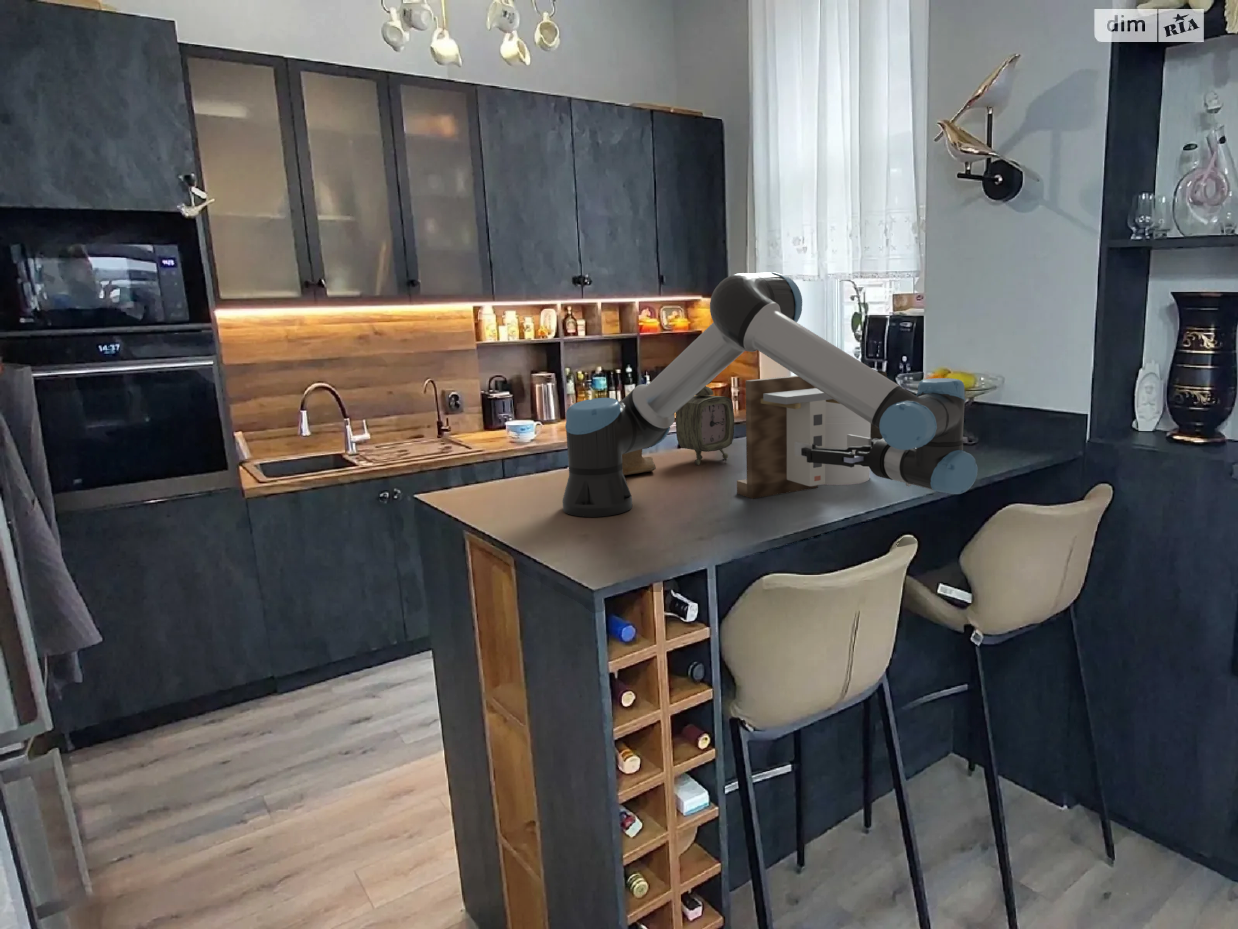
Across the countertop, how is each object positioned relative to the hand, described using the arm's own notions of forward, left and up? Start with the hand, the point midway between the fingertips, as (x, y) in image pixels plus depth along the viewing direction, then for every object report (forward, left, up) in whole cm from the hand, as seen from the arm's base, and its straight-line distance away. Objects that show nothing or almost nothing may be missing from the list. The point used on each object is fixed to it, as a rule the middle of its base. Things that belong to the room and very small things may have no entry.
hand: (822, 444), depth 167 cm
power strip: (0, +5, -9) cm, 10 cm away
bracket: (0, +9, -13) cm, 16 cm away
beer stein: (+64, +59, -13) cm, 88 cm away
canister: (+19, +18, -13) cm, 29 cm away
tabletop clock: (+4, +54, -13) cm, 56 cm away
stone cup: (-20, +51, -13) cm, 57 cm away
